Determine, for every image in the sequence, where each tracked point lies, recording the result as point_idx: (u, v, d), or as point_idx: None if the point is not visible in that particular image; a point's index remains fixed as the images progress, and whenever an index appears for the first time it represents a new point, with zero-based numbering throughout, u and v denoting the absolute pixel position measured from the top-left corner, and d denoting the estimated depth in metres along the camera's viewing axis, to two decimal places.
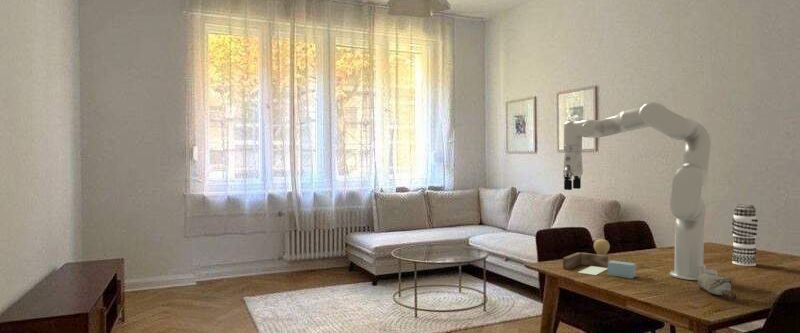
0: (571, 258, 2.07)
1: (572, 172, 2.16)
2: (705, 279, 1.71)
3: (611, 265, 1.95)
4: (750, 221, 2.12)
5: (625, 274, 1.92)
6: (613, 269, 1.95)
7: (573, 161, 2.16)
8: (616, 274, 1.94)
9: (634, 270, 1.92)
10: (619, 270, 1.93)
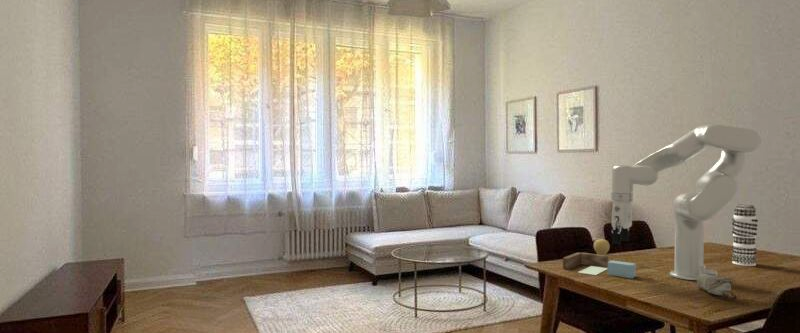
0: (571, 258, 2.07)
1: (622, 224, 1.90)
2: (705, 279, 1.70)
3: (611, 265, 1.95)
4: (750, 221, 2.12)
5: (625, 274, 1.92)
6: (613, 269, 1.95)
7: (623, 212, 1.90)
8: (616, 274, 1.94)
9: (634, 270, 1.92)
10: (619, 270, 1.93)
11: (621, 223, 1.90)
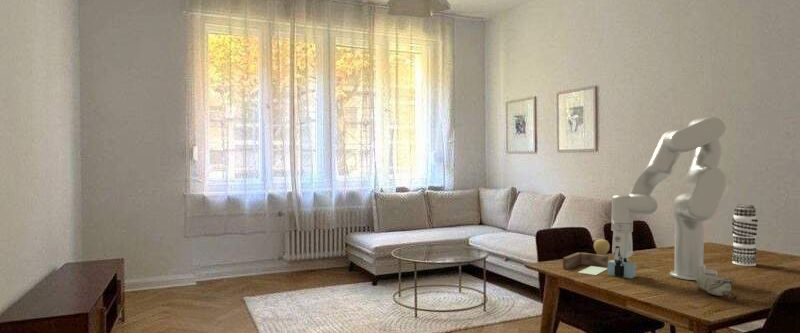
0: (571, 258, 2.07)
1: (622, 255, 1.90)
2: (704, 280, 1.70)
3: (611, 265, 1.95)
4: (750, 221, 2.12)
5: (625, 273, 1.92)
6: (613, 268, 1.95)
7: (624, 242, 1.90)
8: None
9: (634, 270, 1.92)
10: None
11: (622, 253, 1.90)
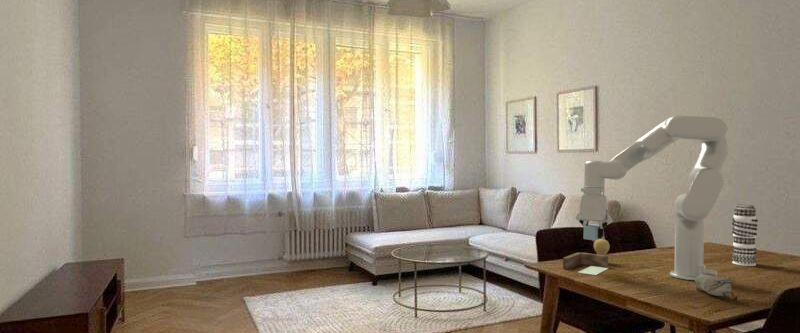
0: (571, 258, 2.07)
1: None
2: (704, 280, 1.69)
3: None
4: (750, 221, 2.12)
5: None
6: None
7: (580, 204, 2.04)
8: None
9: (590, 233, 1.99)
10: None
11: None
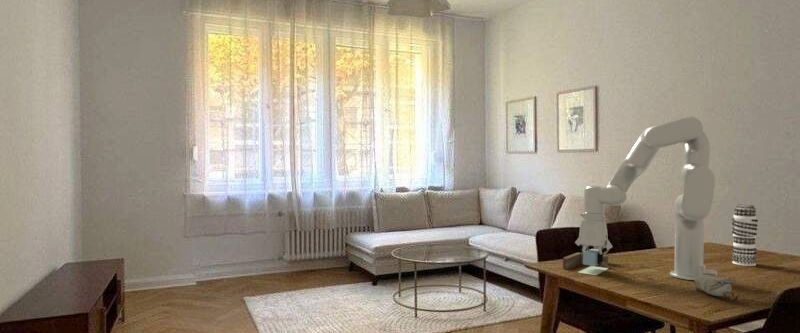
0: (571, 258, 2.07)
1: None
2: (704, 280, 1.69)
3: None
4: (750, 221, 2.12)
5: None
6: None
7: (580, 229, 2.04)
8: None
9: (589, 258, 1.99)
10: None
11: None
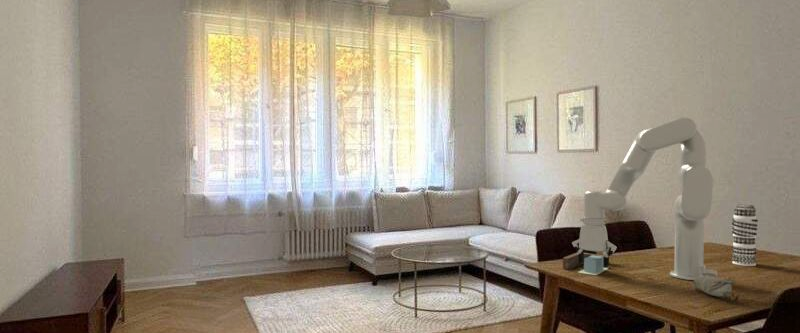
0: (571, 258, 2.07)
1: None
2: (703, 281, 1.68)
3: None
4: (750, 221, 2.12)
5: None
6: None
7: (580, 234, 2.04)
8: None
9: (591, 265, 1.99)
10: None
11: None
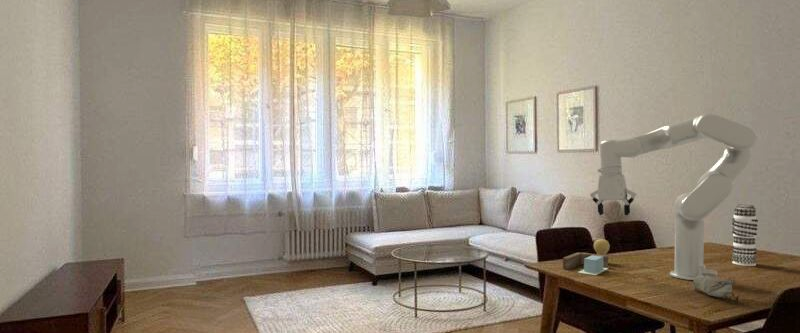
0: (571, 258, 2.07)
1: None
2: (703, 281, 1.68)
3: None
4: (750, 221, 2.12)
5: None
6: None
7: (598, 184, 2.02)
8: None
9: (591, 265, 1.99)
10: None
11: None
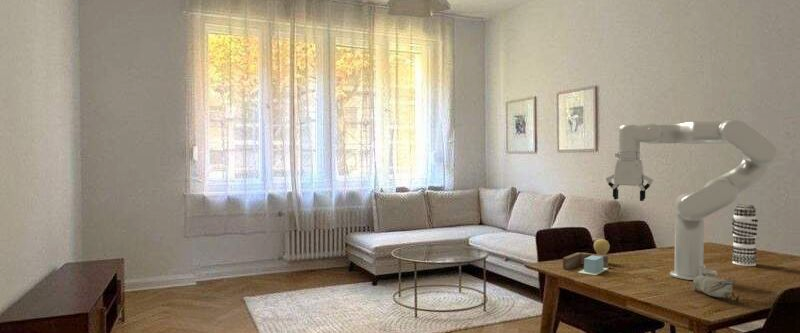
0: (571, 258, 2.07)
1: (614, 180, 2.02)
2: (703, 281, 1.67)
3: None
4: (750, 221, 2.12)
5: None
6: None
7: (615, 169, 2.02)
8: None
9: (591, 265, 1.99)
10: None
11: None
